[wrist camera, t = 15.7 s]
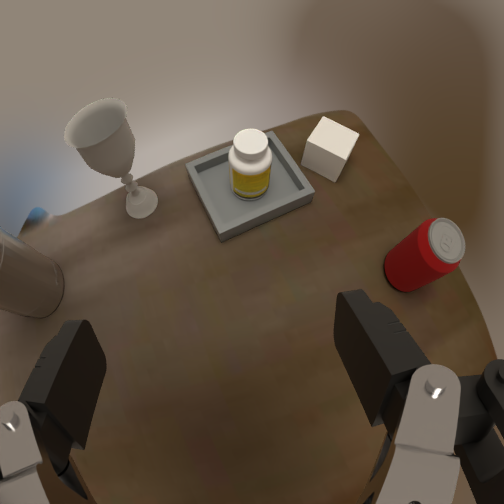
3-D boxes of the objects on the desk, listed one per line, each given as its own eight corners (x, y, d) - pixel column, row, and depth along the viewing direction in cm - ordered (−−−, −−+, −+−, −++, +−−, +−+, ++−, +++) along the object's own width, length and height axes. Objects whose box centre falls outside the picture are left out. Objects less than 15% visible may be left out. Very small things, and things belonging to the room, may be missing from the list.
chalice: (122, 231, 41) (62, 158, 24) (116, 192, 43) (65, 114, 26) (169, 214, 42) (130, 130, 25) (160, 177, 44) (125, 89, 27)
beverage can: (426, 262, 41) (473, 232, 29) (412, 301, 39) (462, 280, 27) (391, 239, 42) (432, 201, 30) (374, 278, 40) (417, 248, 28)
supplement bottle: (275, 194, 42) (282, 151, 33) (239, 207, 42) (236, 165, 32) (259, 164, 44) (262, 119, 35) (224, 176, 43) (220, 131, 34)
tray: (221, 242, 41) (219, 233, 38) (188, 175, 44) (185, 164, 41) (310, 202, 43) (315, 191, 40) (270, 142, 47) (272, 130, 44)
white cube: (335, 183, 45) (345, 160, 39) (300, 165, 46) (306, 140, 40) (348, 157, 46) (359, 133, 41) (315, 140, 47) (323, 116, 42)
